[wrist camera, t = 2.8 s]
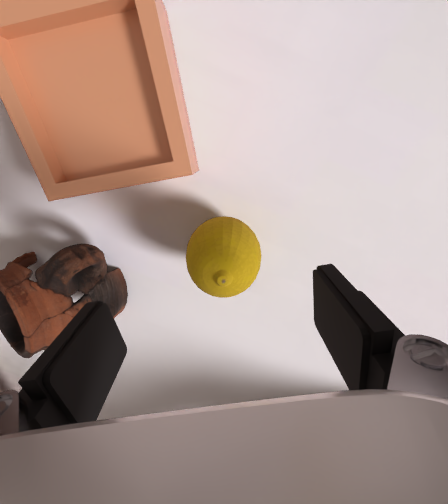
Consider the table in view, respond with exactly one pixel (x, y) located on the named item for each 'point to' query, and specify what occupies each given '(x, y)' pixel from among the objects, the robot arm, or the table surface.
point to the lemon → (223, 256)
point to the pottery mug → (54, 295)
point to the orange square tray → (94, 93)
